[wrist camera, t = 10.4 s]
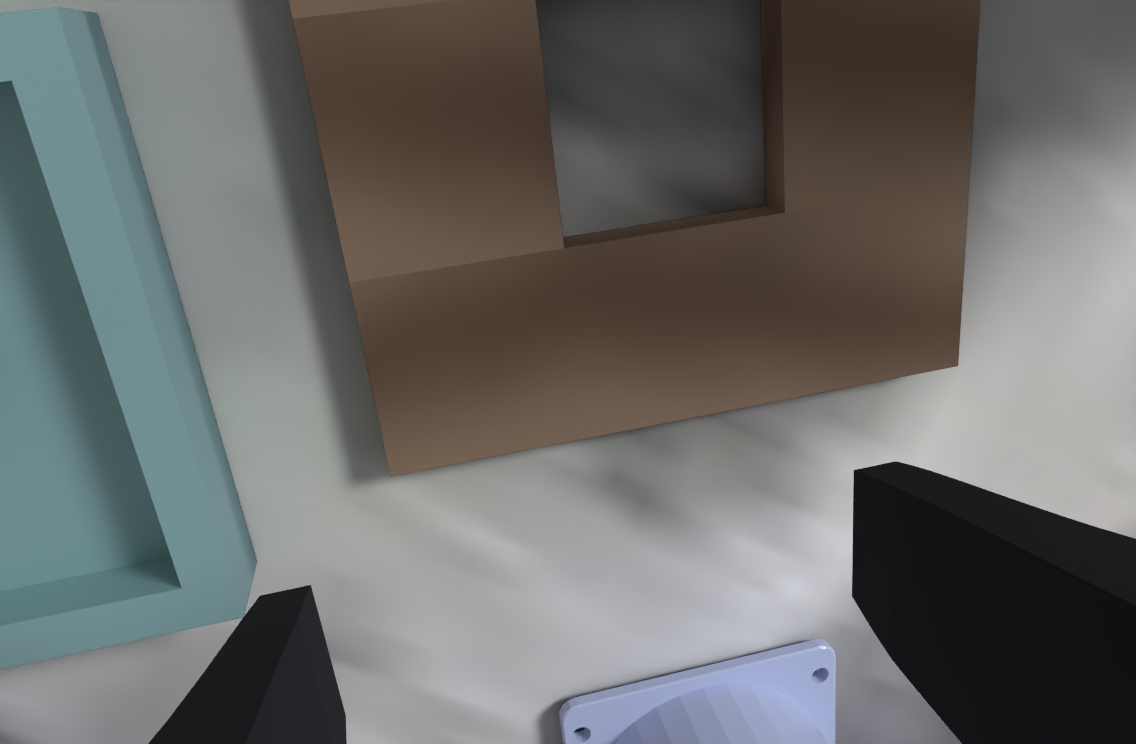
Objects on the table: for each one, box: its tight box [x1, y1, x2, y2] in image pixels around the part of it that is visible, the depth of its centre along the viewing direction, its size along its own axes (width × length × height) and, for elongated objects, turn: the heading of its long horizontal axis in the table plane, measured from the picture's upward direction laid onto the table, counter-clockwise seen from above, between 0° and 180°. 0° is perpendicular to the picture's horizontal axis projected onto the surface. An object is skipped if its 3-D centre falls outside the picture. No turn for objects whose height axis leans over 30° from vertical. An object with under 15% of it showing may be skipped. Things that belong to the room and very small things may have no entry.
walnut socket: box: [289, 0, 980, 477], centre depth 18 cm, size 14×14×1 cm
